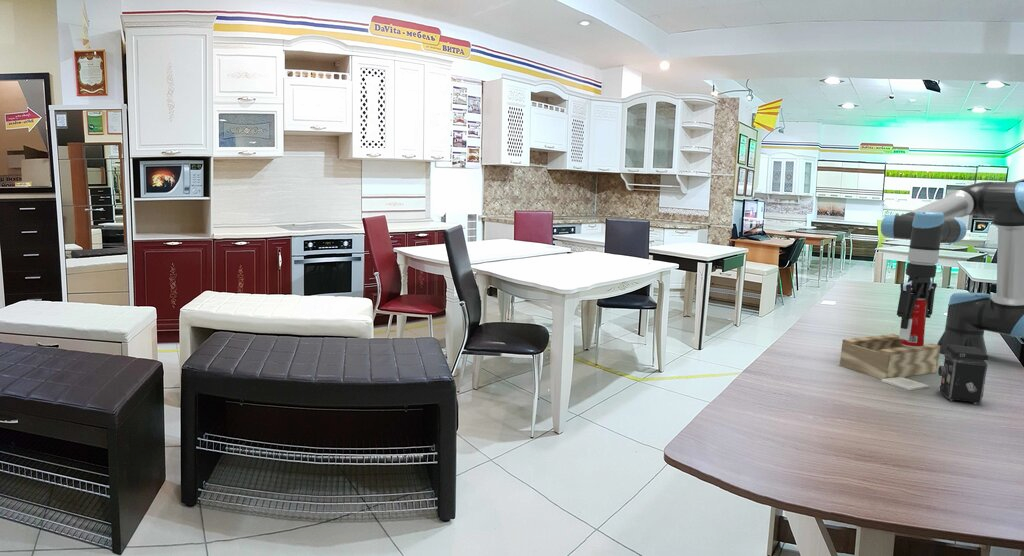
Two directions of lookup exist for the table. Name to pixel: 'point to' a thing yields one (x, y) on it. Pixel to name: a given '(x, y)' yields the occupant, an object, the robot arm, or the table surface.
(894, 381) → the tile
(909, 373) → the slot box
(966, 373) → the camera
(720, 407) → the table surface
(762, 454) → the table surface
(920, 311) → the beverage can
